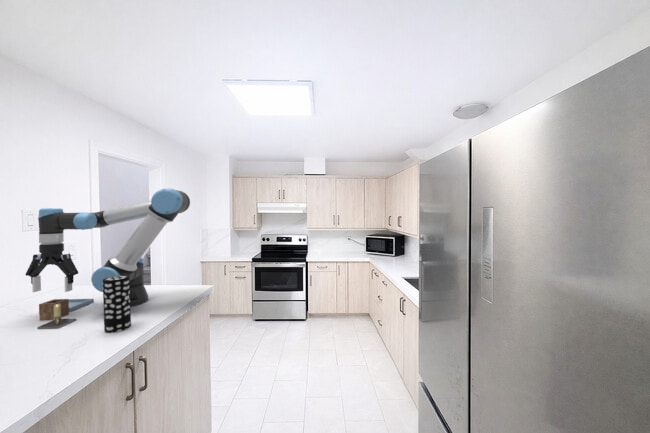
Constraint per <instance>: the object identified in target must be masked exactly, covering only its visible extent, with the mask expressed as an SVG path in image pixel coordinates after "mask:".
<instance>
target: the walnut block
mask: <svg viewBox="0 0 650 433" xmlns="http://www.w3.org/2000/svg"><path fill="white" fill-rule="evenodd" d="M68 299H69V298H55V299H54V298H53V299H50V300H48V301H44V302H42V303H39V304H38V313H39V314H38V315H39V321H53V320H54V305H55V304H61V318H64V317H65V316H68V315H69V314H70V312H69V301H68Z"/></svg>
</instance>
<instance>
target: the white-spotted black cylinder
mask: <svg viewBox="0 0 650 433" xmlns="http://www.w3.org/2000/svg"><path fill="white" fill-rule="evenodd" d="M102 301H103V303H102V304H103V327H104V328H103V329H104V333H107V334H112V333H119V332H122V331H124V330H127V329H129V328H130V327H132V317H131V316H132V315H131V314H132V313H131V306H130V277H129V276H125V275H124V276H114V277H109V278H105V279H103V292H102Z"/></svg>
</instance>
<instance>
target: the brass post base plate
mask: <svg viewBox="0 0 650 433" xmlns="http://www.w3.org/2000/svg"><path fill="white" fill-rule="evenodd" d="M75 321H77V318H74V317H73V318H62V317H61V304H55V305H54V320H50V321H49V322H47V323H44V324H42V325H39V326H37V330H51V329H52V330H54V329H55V330H56V329H61V328H63V327H64V326H67V325H69V324H71V323H74V322H75Z"/></svg>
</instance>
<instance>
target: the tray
mask: <svg viewBox="0 0 650 433" xmlns="http://www.w3.org/2000/svg"><path fill="white" fill-rule="evenodd" d="M67 299H68V301H69V313H72V312H74V311H77V310H78V309H81V308H84V307H86V306H88V305H91V304H94V300H95V299H94V298H67Z"/></svg>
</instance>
